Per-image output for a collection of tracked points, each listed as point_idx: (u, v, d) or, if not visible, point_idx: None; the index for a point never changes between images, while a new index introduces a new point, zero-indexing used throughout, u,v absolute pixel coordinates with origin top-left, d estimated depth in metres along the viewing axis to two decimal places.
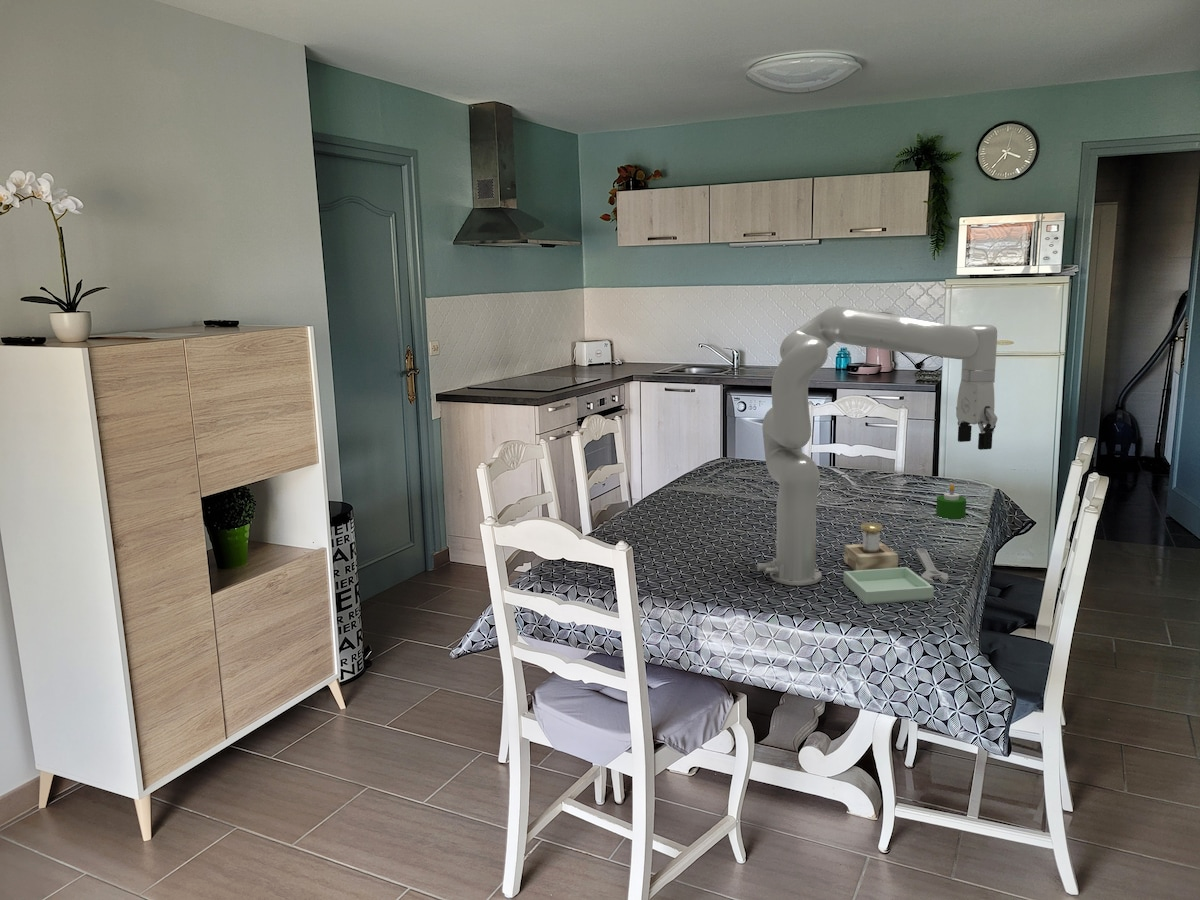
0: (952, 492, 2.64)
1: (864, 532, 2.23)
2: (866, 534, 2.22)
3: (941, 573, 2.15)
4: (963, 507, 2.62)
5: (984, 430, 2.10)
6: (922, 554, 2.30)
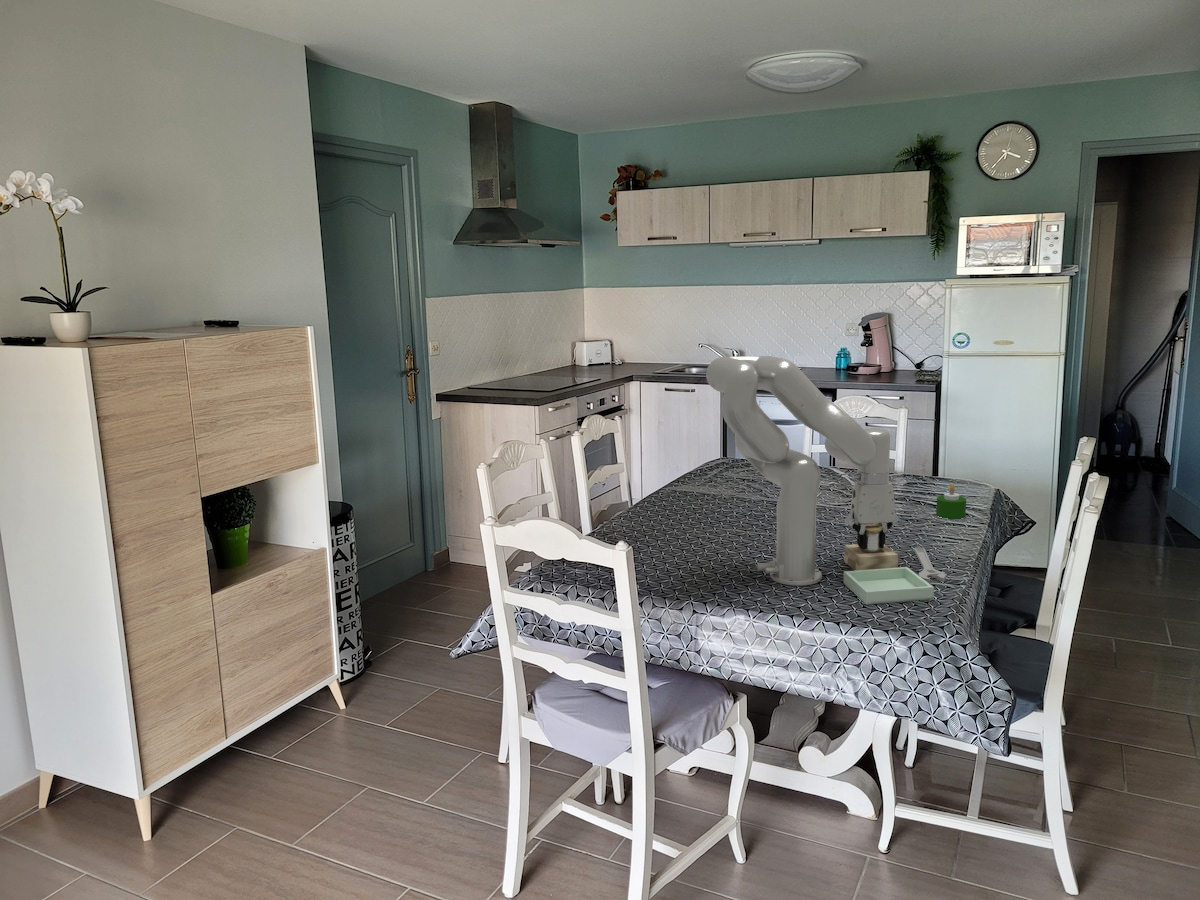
0: (952, 492, 2.64)
1: (864, 532, 2.23)
2: (866, 534, 2.22)
3: (938, 572, 2.16)
4: (963, 507, 2.62)
5: None
6: (920, 553, 2.31)
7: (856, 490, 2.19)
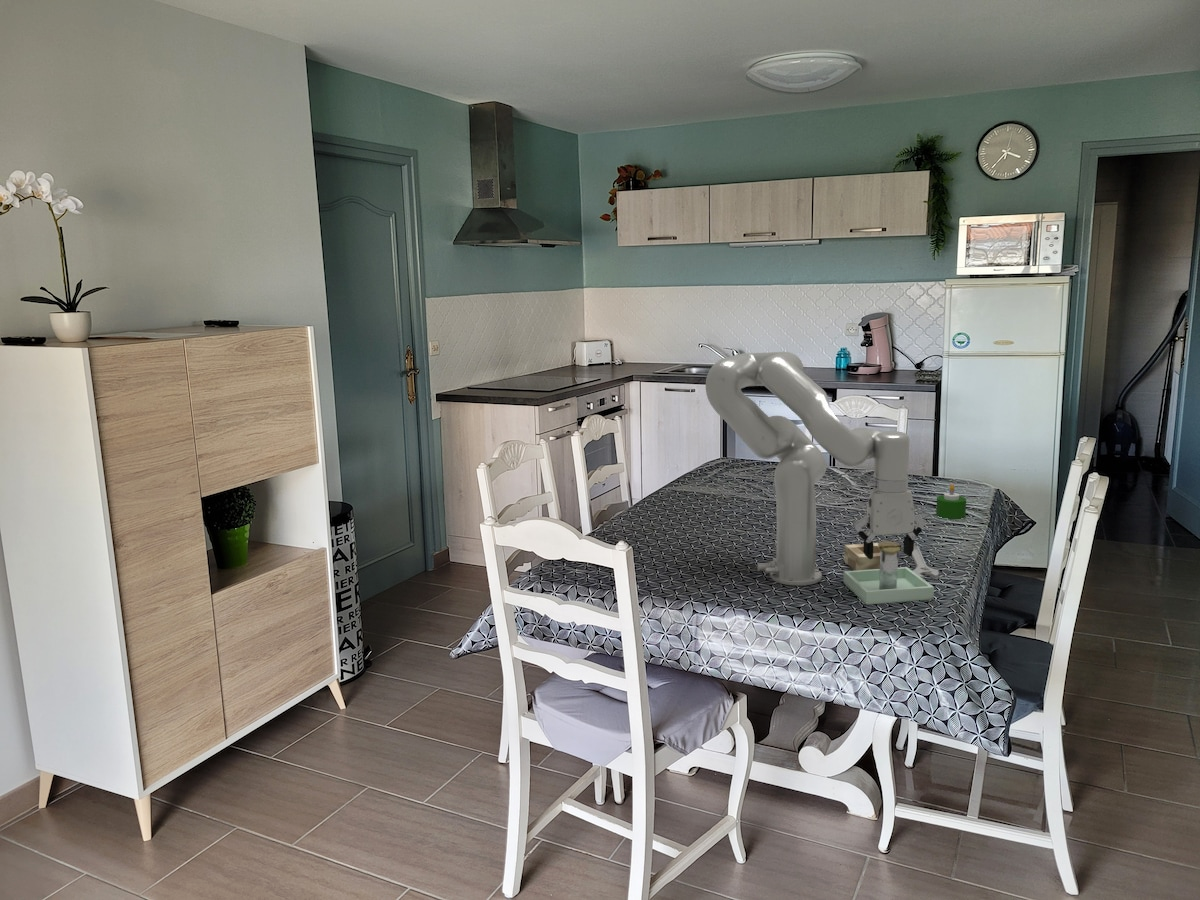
0: (952, 492, 2.64)
1: (881, 552, 2.06)
2: (884, 554, 2.05)
3: (932, 569, 2.18)
4: (963, 507, 2.62)
5: (915, 535, 2.05)
6: (914, 551, 2.33)
7: (872, 498, 2.02)
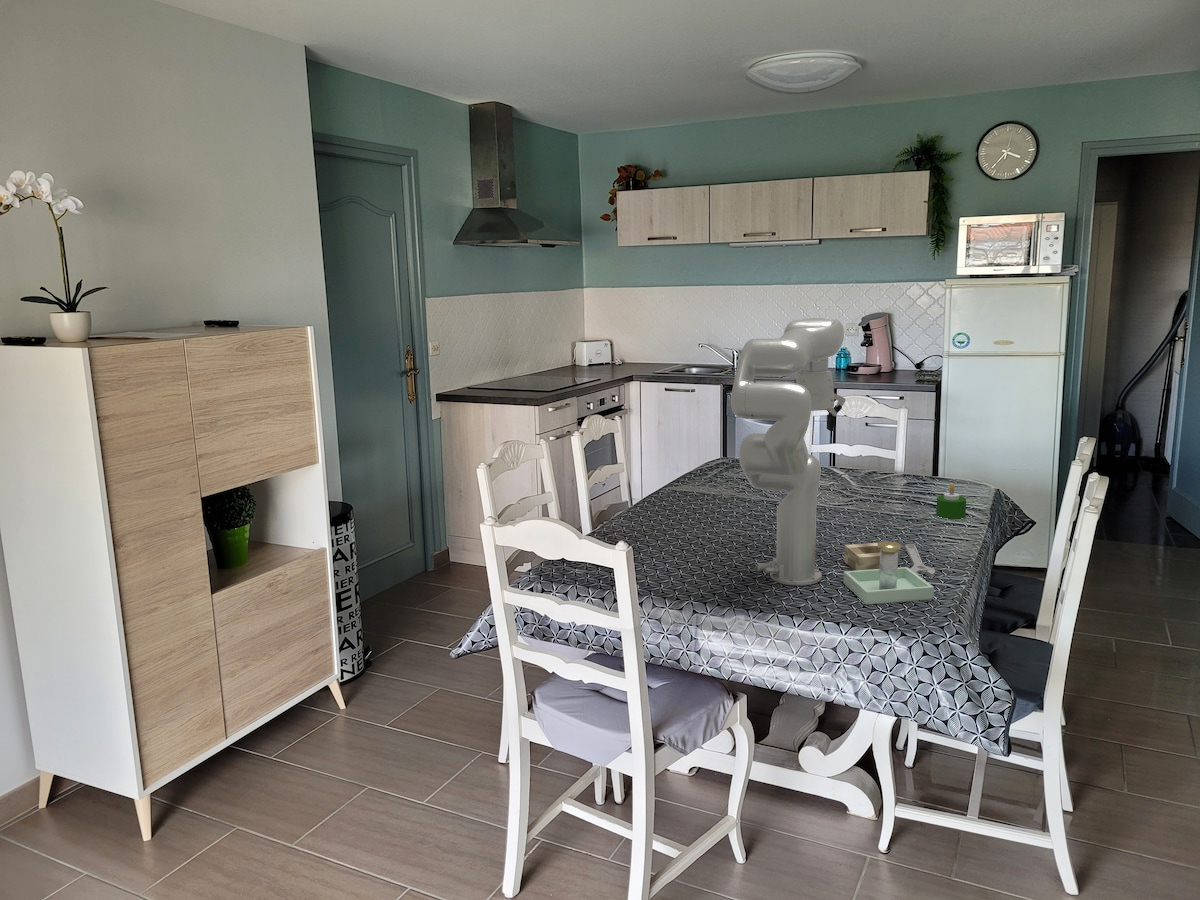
0: (952, 492, 2.64)
1: (881, 552, 2.06)
2: (883, 554, 2.05)
3: (928, 568, 2.19)
4: (963, 507, 2.62)
5: (836, 412, 2.29)
6: (911, 550, 2.34)
7: (796, 378, 2.26)
